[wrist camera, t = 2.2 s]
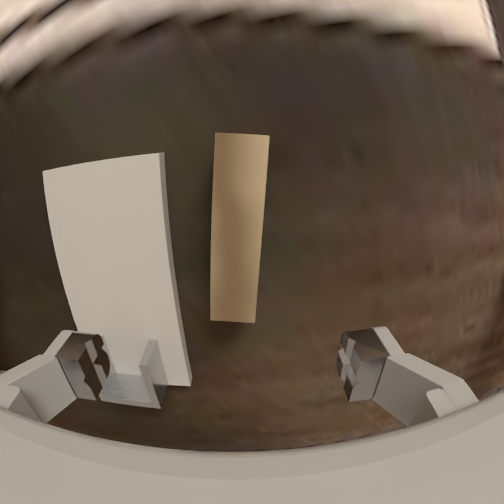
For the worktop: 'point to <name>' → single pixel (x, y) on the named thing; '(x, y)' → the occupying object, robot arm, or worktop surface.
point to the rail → (237, 224)
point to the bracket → (121, 271)
